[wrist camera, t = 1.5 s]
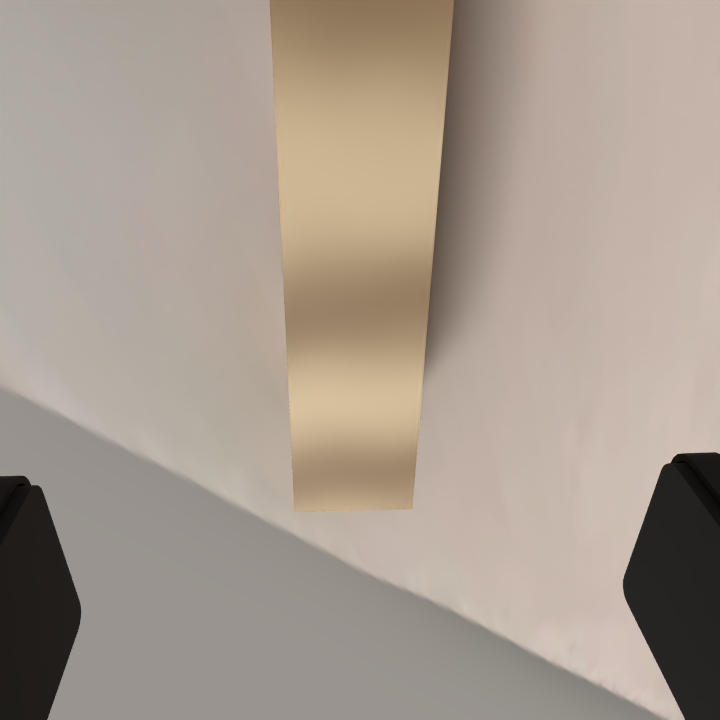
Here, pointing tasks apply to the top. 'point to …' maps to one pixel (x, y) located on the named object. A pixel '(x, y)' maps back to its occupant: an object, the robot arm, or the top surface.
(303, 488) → the rail
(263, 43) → the top surface
